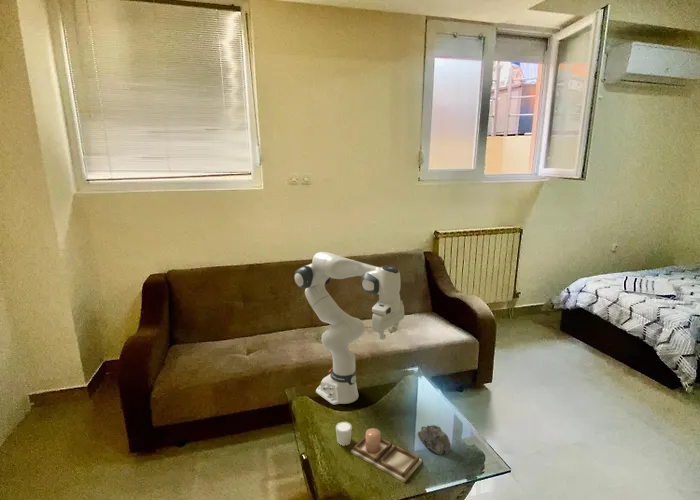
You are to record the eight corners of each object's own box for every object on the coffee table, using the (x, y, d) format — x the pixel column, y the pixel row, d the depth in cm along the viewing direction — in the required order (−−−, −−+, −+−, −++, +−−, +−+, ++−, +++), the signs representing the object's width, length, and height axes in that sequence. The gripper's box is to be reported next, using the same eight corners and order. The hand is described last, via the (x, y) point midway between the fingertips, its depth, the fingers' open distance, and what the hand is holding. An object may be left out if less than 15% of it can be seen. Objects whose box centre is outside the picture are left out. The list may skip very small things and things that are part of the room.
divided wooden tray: (350, 452, 158) (350, 447, 158) (369, 435, 168) (369, 430, 168) (404, 482, 143) (404, 476, 142) (421, 462, 153) (421, 456, 152)
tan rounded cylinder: (362, 449, 159) (362, 433, 157) (371, 441, 163) (371, 426, 162) (374, 455, 155) (374, 440, 154) (383, 447, 160) (383, 432, 158)
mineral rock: (416, 436, 167) (417, 415, 165) (440, 433, 169) (441, 412, 167) (427, 458, 155) (428, 436, 153) (453, 454, 157) (454, 432, 155)
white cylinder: (350, 447, 161) (350, 432, 159) (334, 445, 162) (333, 430, 161) (353, 436, 167) (353, 422, 166) (337, 434, 169) (337, 420, 167)
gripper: (395, 296, 174) (395, 325, 177) (369, 309, 159) (369, 341, 162) (408, 299, 171) (407, 329, 174) (382, 313, 155) (381, 345, 158)
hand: (388, 335), depth 167 cm, fingers open, 8 cm apart
